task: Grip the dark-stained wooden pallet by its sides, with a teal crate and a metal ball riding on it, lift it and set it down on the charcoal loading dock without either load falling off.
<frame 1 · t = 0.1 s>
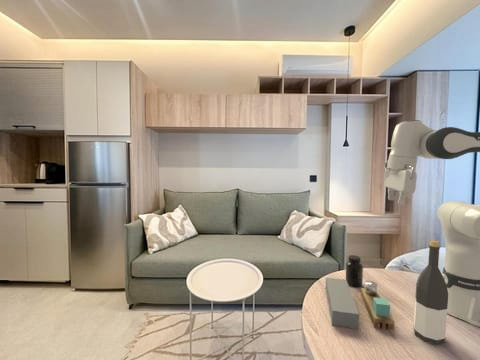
hand: (395, 202, 93), 39 cm above the table, tool pointing down, fingers open, 8 cm apart
dock: (339, 306, 93), on the table
wine bottle: (428, 336, 78), on the table
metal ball: (370, 293, 97), point 3 cm above the table, touching pallet
pallet: (375, 312, 91), on the table, touching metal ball
crate: (380, 312, 84), point 3 cm above the table
supplement bottle: (353, 284, 111), on the table
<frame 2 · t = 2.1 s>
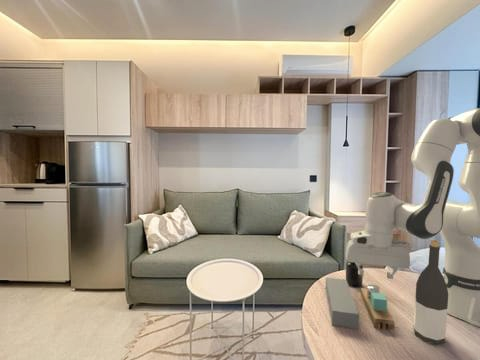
hand: (375, 276, 90), 13 cm above the table, tool pointing down, fingers open, 8 cm apart
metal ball: (373, 297, 94), point 3 cm above the table, touching pallet
pallet: (375, 312, 91), on the table, touching crate, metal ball
crate: (378, 307, 87), point 3 cm above the table, touching pallet
everything else where it was.
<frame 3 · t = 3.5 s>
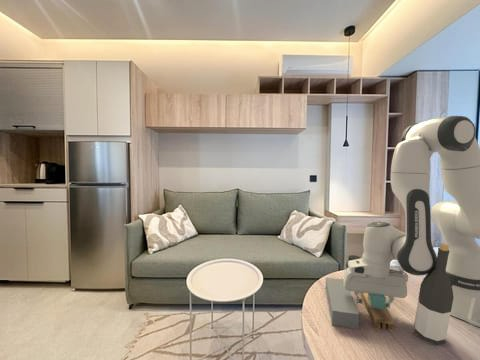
hand: (372, 304, 90), 2 cm above the table, tool pointing down, fingers open, 8 cm apart
wine bottle: (428, 335, 78), on the table, touching arm
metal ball: (373, 299, 93), point 3 cm above the table, touching crate, pallet
pallet: (375, 312, 91), on the table, touching crate, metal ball, gripper
crate: (377, 305, 89), point 3 cm above the table, touching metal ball, pallet
everything else where it was.
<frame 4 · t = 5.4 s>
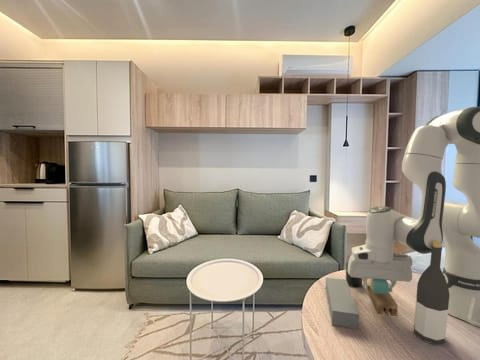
hand: (378, 290, 90), 8 cm above the table, tool pointing down, fingers closed on pallet, 6 cm apart
wine bottle: (428, 335, 78), on the table
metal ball: (376, 285, 92), point 8 cm above the table, touching pallet
pallet: (378, 298, 90), point 5 cm above the table, touching crate, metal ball, gripper
crate: (380, 291, 88), point 8 cm above the table, touching pallet
everything else where it was.
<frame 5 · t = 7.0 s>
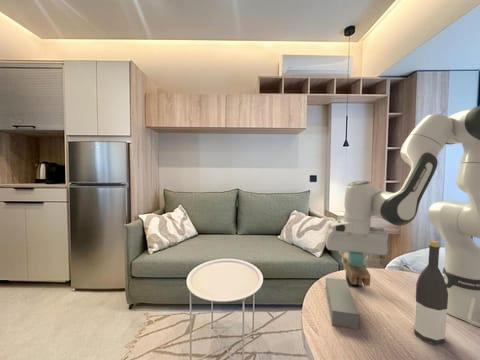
hand: (354, 263, 91), 17 cm above the table, tool pointing down, fingers closed on pallet, 6 cm apart
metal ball: (353, 260, 93), point 17 cm above the table, touching pallet
pallet: (354, 272, 91), point 14 cm above the table, touching crate, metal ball, gripper
crate: (355, 264, 89), point 17 cm above the table, touching pallet
everything else where it was.
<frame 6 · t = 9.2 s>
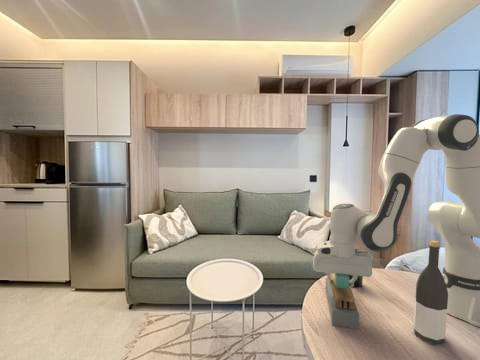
hand: (340, 284, 93), 8 cm above the table, tool pointing down, fingers closed on pallet, 5 cm apart
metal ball: (340, 280, 95), point 9 cm above the table, touching pallet
pallet: (340, 293, 93), point 5 cm above the table, touching crate, dock, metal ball, gripper
crate: (341, 285, 91), point 9 cm above the table, touching pallet
everything else where it was.
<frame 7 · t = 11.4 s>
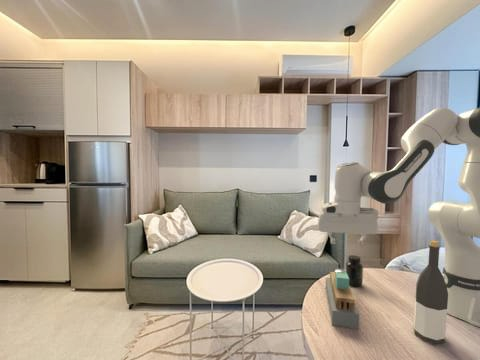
hand: (346, 244, 93), 23 cm above the table, tool pointing down, fingers open, 8 cm apart
pallet: (340, 293, 93), point 5 cm above the table, touching crate, dock, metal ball
everything else where it was.
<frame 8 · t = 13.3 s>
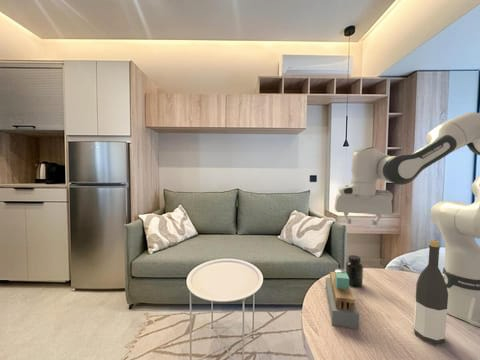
hand: (361, 224, 99), 29 cm above the table, tool pointing down, fingers open, 8 cm apart
nothing on the table moved.
at the end: pallet inside the target area on the dock (0.2 cm from its centre), point 5.0 cm above the dock's base; crate point 8.7 cm above the table; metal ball point 8.7 cm above the table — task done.
